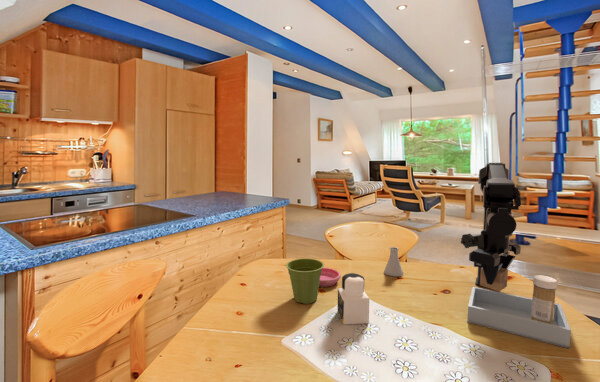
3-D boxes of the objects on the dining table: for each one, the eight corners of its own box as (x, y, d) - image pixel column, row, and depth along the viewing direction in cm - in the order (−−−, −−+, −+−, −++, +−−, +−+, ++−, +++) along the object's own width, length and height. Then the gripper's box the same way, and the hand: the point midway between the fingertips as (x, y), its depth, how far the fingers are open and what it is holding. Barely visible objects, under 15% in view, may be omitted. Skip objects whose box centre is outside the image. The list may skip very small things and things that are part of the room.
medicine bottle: (337, 311, 86) (337, 271, 85) (361, 310, 87) (362, 270, 85) (342, 325, 79) (343, 281, 78) (369, 323, 80) (370, 280, 78)
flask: (404, 277, 110) (405, 251, 109) (384, 276, 112) (384, 250, 110) (402, 270, 117) (402, 245, 116) (383, 269, 119) (383, 244, 118)
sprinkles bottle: (556, 331, 75) (561, 279, 73) (546, 336, 73) (551, 283, 71) (535, 322, 79) (539, 273, 77) (525, 326, 77) (529, 276, 75)
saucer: (313, 273, 116) (313, 265, 115) (344, 278, 111) (344, 269, 110) (300, 285, 104) (300, 276, 104) (334, 291, 99) (334, 282, 99)
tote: (471, 300, 92) (472, 286, 92) (559, 320, 81) (560, 304, 81) (467, 321, 80) (468, 306, 80) (569, 348, 69) (571, 330, 68)
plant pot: (304, 287, 102) (304, 255, 101) (331, 298, 94) (332, 264, 93) (278, 298, 94) (278, 264, 93) (305, 312, 86) (305, 274, 84)
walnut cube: (487, 280, 88) (488, 264, 87) (506, 286, 84) (508, 269, 83) (479, 285, 85) (480, 268, 84) (499, 291, 81) (500, 273, 80)
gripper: (481, 218, 94) (478, 266, 96) (451, 226, 83) (448, 280, 85) (523, 224, 85) (519, 277, 87) (495, 235, 74) (491, 294, 76)
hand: (493, 281), depth 84 cm, fingers closed on walnut cube, 5 cm apart
